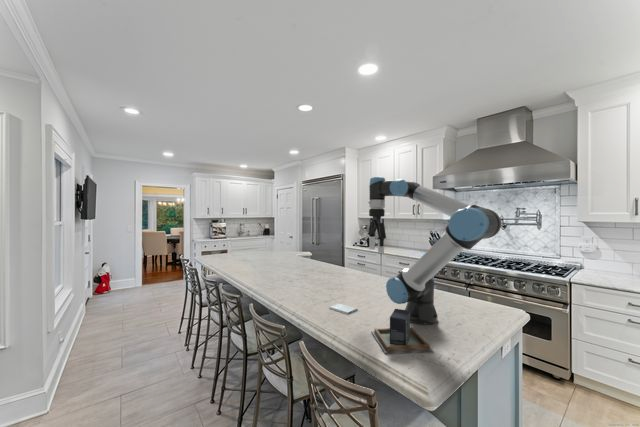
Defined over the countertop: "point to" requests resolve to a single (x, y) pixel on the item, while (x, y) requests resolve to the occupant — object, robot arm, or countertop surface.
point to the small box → (400, 327)
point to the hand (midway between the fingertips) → (376, 251)
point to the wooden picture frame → (413, 346)
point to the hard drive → (343, 308)
